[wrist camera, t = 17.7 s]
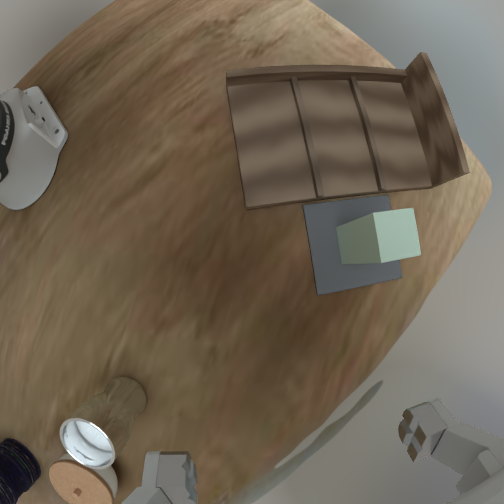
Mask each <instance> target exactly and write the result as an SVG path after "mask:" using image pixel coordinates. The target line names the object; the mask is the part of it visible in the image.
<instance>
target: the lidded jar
mask: <svg viewBox="0 0 504 504" xmlns="http://www.w3.org/2000/svg"><path fill="white" fill-rule="evenodd" d="M49 477H50V481H51V483H52V485H53V487H54V488H55V490H56V491H57V492H58V494H59V495H60V496H61V497H62V498H63V499H64V500H66V501H67V502H68V503H70V504H113V502H114V499H115V497H116V494H117V489H118V480H117V476H116V473H115V471H114V469H113V467H112V466H109V467H108V468H105V469H92V468H89V467H86V466H84V465H82V464H80V463H79V462H77V461H76V460H75V459H73V458H72V457H71V456H70V455H69V454H68V453H66V454H64V455H63V456H61V457H60V458H59V459H58V460H57V461H56V462H55V463H54V464H52V466H51V467H50V470H49Z"/></svg>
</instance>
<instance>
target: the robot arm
mask: <svg viewBox="0 0 504 504" xmlns="http://www.w3.org/2000/svg"><path fill="white" fill-rule="evenodd" d="M58 131H59V132H58ZM57 132H58V133H57ZM67 138H68V132H67V131H66V129H65V127H64V126H63V124H62V123H61V121H60V119H59V118H58V116H57V115H56V113H55V111H54V110H53V108H52V107H51V105H50V103H49V102H48V100H47V98H46V97H45V95H44V93H43V92H42V90H41V89H40V88H39V87H38V86H35V87H31V88H28V89H26V90H24V91H22V90H21V89H19V88H13V89H10V90H8V91H6V92H4V93H3V94H2V95H0V203H1V204H3V205H4V206H5V207H7V208H9V209H13V210H18V209H23V208H25V207H28V206H29V205H31V204H32V203H34V202H35V201H36V200H37V199H38V198H39V197H40V196H41V195H42V194H43V192H44V191H45V190H46V188H47V187H48V185H49V183H50V181H51V179H52V177H53V175H54V172H55V169H56V165H57V160H58V156H59V153H60V151H61V149H62V148H63V146H64V144H65V142H66V140H67ZM403 417H404V419H403V420H402V421H401V422H400V424H399V428H398V430H399V436H400V439H401V441H402V443H404V444H406V445H408V449H407V452H408V454H409V455H410V457H411V459H412V461H413V462H416V461H418V460H421V459H423V458H426V457H428V456H431V457H433V458H435V459H436V460H438V461H439V462H441V463H443V464H444V465H446V466H448V467H450V468H451V469H453V470H455V471H457V472H458V473H460V474H462V475H463V476H462V477H461V479H460V480H459V481H458V482H457V484H456V487H457V489H458V491H459V493H460V496H458V497H456V498H454V499H452V500H451V501H449V502H447V503H445V504H504V439H503V438H501V437H498V436H495V435H493V434H490V433H487V432H485V431H482V430H480V429H477V428H475V427H472V426H470V425H467V424H465V423H462V422H460V423H458V422H457V421H456V420H455V418H454V417H453V415H452V414H451V413H450V411H449V410H448V409H447V407H446V406H445V405H444V404H443V402H442V401H441V400H440V399H439V398H435V399H433V400H430V401H428V402H424V403H422V404H419V405H417V406H414V407H411V408H409V409H406V410H405V411H404V413H403ZM196 484H197V473H196V468H195V464H194V462H193V461H191V455H190V453H189V451H147V453H146V456H145V463H144V470H143V478H142V485H141V487H137V488H136V489H135V490H134V491H133V492H132V493H131V494H130V495H129V496H128V497H127V498H126V499H125V500H124V501H123V502H122V503H121V504H197V492H196V490H195V488H194V486H195V485H196Z"/></svg>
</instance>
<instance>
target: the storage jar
mask: <svg viewBox="0 0 504 504" xmlns="http://www.w3.org/2000/svg"><path fill="white" fill-rule="evenodd" d="M40 474H41V470H40V466H39V464H38V462H37V460H36V458H35V457H34V455H33V454H32V453H31V452H30V451H29V450H28V449H27V448H26V447H25V446H24V445H23V444H21V443H20V442H18V441H16V440H14V439H10V438H9V439H5V440H4V441H3V442H1V443H0V504H16V502H17V501H18V498H19V497H20V496H21V494H22V493H23V492H26V491H27V490H29V488H30V487H31V486H32V485H33V484H34V483H35V481H36V480H37V479H38V478H39V477H40Z"/></svg>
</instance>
